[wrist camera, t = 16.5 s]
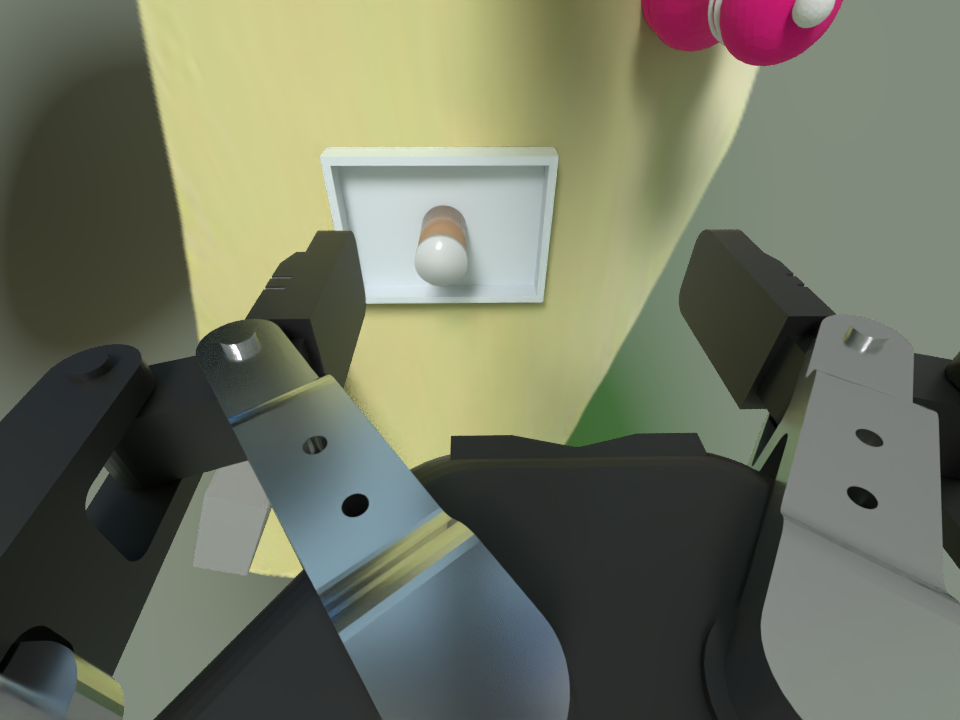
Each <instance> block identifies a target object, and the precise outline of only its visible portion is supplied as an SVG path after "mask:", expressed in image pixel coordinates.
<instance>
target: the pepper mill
mask: <svg viewBox="0 0 960 720" xmlns="http://www.w3.org/2000/svg"><path fill="white" fill-rule="evenodd" d="M842 2H843V0H642V8H643V14H644V17H645V20H646V22H647V24H648V25H649V26H650V28H651V29H652V30H653V31H654V32H656V33H657V35H658V36H659V38H660V39H661V40H662V41H663V42H664V43H665V44H667V45H668V46H670V47H672V48H674V49H677V50H683V51H698V50H702V49H705V48H708V47H711V46H713V45H715V44H717V43H719V42H720V43H721V44H723V45H724V46H726V48H727V49H728V51H729V52H730V53H731V54H732V55H733V56H734V57H735V58H736V59H738V60H740V61H742V62H744V63H746V64H750V65H756V66H767V65H775V64H779V63H782V62H785V61H787V60H790V59H792V58H794V57H796V56H798V55H799V54H801V53H803V52H804V51H805V50H806V49H808V48H809V47H810V46H811V45H813V44H814V43H815V42H816V41H817V40H818V39H819V38H820V37H821V36H822V35H823V34H824V33H825V32H826V31H827V29H828V28H829V26H830V25H831V23H832V22H833V20H834V19H835V17H836V15H837V13H838V11H839V9H840V7H841V4H842Z"/></svg>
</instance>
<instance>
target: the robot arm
mask: <svg viewBox="0 0 960 720" xmlns="http://www.w3.org/2000/svg"><path fill="white" fill-rule="evenodd" d="M265 288H266V290H263V291H262V293H261V295H260V296H259V298H258V299H257V301H256V303H255V304H254V306H253V307H252V309H251V310H250V312H249V314H248V315H247V317H246V318H245V320H240V321H235V322H232V323H228V324H226V325H223V326H221V327H219V328H217V329H215V330H213V331H211V332H210V333H208V334H207V335H206V336H205V337H203V339H202V340H201V341H200V342H199V343H198V345H197V347H196V351H195V355H196V356H191V357H187V358H182V359H178V360H173V361H168V362H163V363H158V364H153V365H149V366H148V365H147V363H146V362H145V360H144V358H143V357H142V355H141V353H140V352H139V351H138V349H136V348H134V347H132V346H129V345H122V344H112V345H103V346H98V347H95V348H90V349H87V350H84V351H81V352H79V353H76V354H74V355H72V356H70V357H68V358H66V359H64V360H62V361H61V362H59V363H58V364H56V365H55V366H54V367H52V368H51V369H50V370H49V371H48V372H47V373H46V374H45V375H44V376H43V377H42V378H41V379H40V380H39V381H38V382H37V383H36V384H35V385H34V386H33V387H32V389H31V390H30V391H29V392H28V393H27V394H26V395H25V396H24V397H23V398H22V399H21V400H20V401H19V403H18V404H17V405H15V407H14V408H13V409H12V410H11V411H10V412H9V413H8V414H7V415H6V416H5V417H4V418H3V419H2V420H1V422H0V720H122V719H123V714H124V696H123V692H122V689H121V687H120V685H119V683H118V682H117V681H116V680H115V679H114V678H113V677H112V676H113V674H114V671H115V669H116V667H117V665H118V662H119V660H120V658H121V656H122V653H123V651H124V649H125V647H126V644H127V642H128V640H129V638H130V636H131V633H132V631H133V629H134V627H135V624H136V622H137V620H138V618H139V615H140V613H141V611H142V609H143V606H144V604H145V602H146V600H147V597H148V595H149V593H150V591H151V588H152V586H153V584H154V582H155V580H156V577H157V575H158V573H159V571H160V568H161V566H162V564H163V561H164V559H165V557H166V555H167V553H168V550H169V548H170V546H171V544H172V541H173V539H174V537H175V535H176V532H177V530H178V528H179V526H180V524H181V521H182V519H183V517H184V514H185V512H186V510H187V508H188V506H189V503H190V501H191V499H192V497H193V494H194V492H195V490H196V488H197V485H198V483H199V481H200V479H201V477H202V474H203V473H204V472H208V471H211V470H215V469H219V468H222V467H226V466H230V465H233V464H237V463H241V462H245V461H248V462H249V464H250V465H251V467H252V469H253V471H254V473H255V475H256V477H257V479H258V481H259V483H260V485H261V487H262V489H263V491H264V493H265V495H266V497H267V499H268V501H269V503H270V505H271V507H272V509H273V510H274V512H275V514H276V516H277V518H278V520H279V522H280V524H281V526H282V528H283V530H284V532H285V534H286V536H287V538H288V540H289V542H290V544H291V546H292V548H293V550H294V552H295V554H296V556H297V558H298V560H299V562H300V564H301V565H302V567H303V570H302V571H301V572H300V573H299V574H298V575H297V576H296V577H295V578H294V579H293V580H292V582H291V583H289V585H287V586H286V587H285V588H284V589H283V590H282V591H281V592H280V594H278V595H277V596H276V597H275V598H274V599H273V601H271V602H270V603H269V604H268V605H267V606H266V608H265V609H263V610H262V611H261V612H260V613H259V614H258V615H257V616H256V617H255V618H254V620H252V621H251V622H250V623H249V625H247V626H246V628H245V629H243V630H242V631H241V632H240V634H239V635H237V636H236V638H235V639H234V640H233V641H231V642H230V644H229V645H227V646H226V647H225V648H224V650H223V651H221V653H220V654H219V655H218V656H217V657H216V658H215V659H214V660H213V661H212V662H211V663H210V664H209V665H208V666H207V667H206V668H205V669H204V670H203V671H202V672H201V673H200V674H199V675H198V676H197V677H196V678H195V679H194V680H193V681H192V682H191V683H190V684H189V685H188V686H187V687H186V688H185V689H184V690H183V691H182V692H181V693H180V694H179V695H178V696H177V697H176V698H175V699H174V700H173V701H172V702H171V703H170V704H169V705H168V706H167V707H166V708H165V709H164V710H163V711H162V712H161V713H160V714H159V715H158V716H157V717H156V718H155V719H154V720H960V603H959V602H958V601H957V600H956V599H955V598H953V597H952V596H951V595H949V593H948V592H947V591H946V588H945V585H944V577H943V576H944V574H943V548H944V549H945V550H946V552H947V553H948V554H949V556H950V557H951V558H952V559H953V561H954V562H955V564H956V565H957V566H958V568H959V569H960V352H959V353H958V354H957V355H956V356H955V357H954V359H953V360H950V359H944V358H939V357H933V356H927V355H922V354H916V353H914V349H913V346H912V344H911V343H910V342H909V341H908V339H907V338H906V337H904V336H903V335H902V334H900V333H899V332H898V331H896V330H894V329H893V328H891V327H889V326H887V325H885V324H882V323H880V322H877V321H875V320H872V319H869V318H865V317H861V316H855V315H847V314H846V315H844V314H839V315H836V314H835V313H834V312H833V311H832V310H831V309H830V308H829V307H828V306H827V305H826V304H825V303H824V302H823V301H822V300H821V299H820V298H818V297H817V296H816V295H815V294H814V293H813V292H812V291H811V290H810V289H809V288H808V287H804V283H803V282H802V281H801V280H799V279H798V278H797V277H795V276H793V273H792V272H791V271H790V270H789V269H788V268H787V267H786V266H784V264H783V263H781V262H780V261H779V260H777V259H775V258H773V257H771V256H769V255H767V254H765V253H764V252H763V251H762V250H761V249H760V248H758V247H757V246H756V245H755V244H754V243H753V242H752V241H751V240H750V239H749V238H748V237H747V236H746V235H745V234H744V233H743V232H742V231H741V230H704V231H702V232H701V233H700V235H699V236H698V238H697V240H696V243H695V246H694V249H693V252H692V255H691V258H690V261H689V265H688V268H687V271H686V274H685V277H684V280H683V283H682V286H681V290H680V295H679V306H680V311H681V313H682V315H683V317H684V319H685V320H686V322H687V323H688V325H689V327H690V329H691V330H692V332H693V333H694V335H695V337H696V338H697V340H698V341H699V343H700V345H701V346H702V348H703V350H704V351H705V353H706V355H707V356H708V358H709V360H710V361H711V363H712V364H713V366H714V368H715V369H716V371H717V373H718V374H719V376H720V377H721V379H722V381H723V382H724V384H725V386H726V387H727V389H728V390H729V392H730V394H731V395H732V397H733V399H734V400H735V402H736V403H737V405H738V407H739V408H740V409H767V410H768V411H769V413H768V415H767V417H766V418H765V420H764V422H763V424H762V425H761V429H760V431H759V434H758V437H757V440H756V442H755V445H754V448H753V451H752V454H751V456H750V459H749V462H748V465H744V464H743V463H740V462H737V461H735V460H732V459H729V458H726V457H722V456H719V455H715V454H712V453H707V452H706V451H705V449H704V447H703V445H702V443H701V440H700V438H699V436H698V434H697V433H656V434H655V433H654V434H651V433H650V434H633V435H629V436H625V437H621V438H617V439H612V440H608V441H604V442H600V443H595V444H591V445H587V446H582V447H572V446H566V445H561V444H555V443H550V442H545V441H540V440H534V439H529V438H524V437H519V436H513V435H492V436H451V454H450V455H446V456H442V457H439V458H436V459H433V460H430V461H427V462H425V463H423V464H421V465H418V466H416V467H414V468H412V469H411V470H409V469H408V467H407V466H406V465H405V464H404V463H403V461H402V460H401V459H400V458H399V456H398V455H397V454H396V453H395V452H394V450H393V449H392V448H391V447H390V445H389V444H388V443H387V442H386V441H385V439H384V438H383V437H382V436H381V435H380V433H379V432H378V431H377V430H376V428H375V427H374V426H373V425H372V424H371V422H370V421H369V420H368V419H367V417H366V416H365V415H364V414H363V413H362V411H361V410H360V409H359V408H358V406H357V405H356V404H355V403H354V402H353V400H352V399H351V398H350V397H349V395H348V394H347V393H346V392H345V391H344V389H343V388H344V384H345V381H346V378H347V374H348V371H349V367H350V364H351V361H352V357H353V354H354V350H355V347H356V343H357V340H358V337H359V333H360V330H361V326H362V323H363V320H364V316H365V309H366V297H365V288H364V283H363V277H362V272H361V266H360V260H359V255H358V249H357V244H356V239H355V236H354V233H353V232H352V231H317V233H316V235H315V236H314V238H313V240H312V242H311V243H310V245H309V247H308V249H307V251H306V252H296V253H294V254H293V255H291V256H290V257H289V258H287V259H286V260H284V261H283V262H281V263H280V264H279V266H278V267H277V269H276V271H275V272H274V274H273V275H272V279H270V280H269V282H268V283H267V285H266V287H265ZM103 466H104V467H105V468H106V469H107V471H108V472H109V475H108V476H107V478H106V479H105V481H104V483H103V484H102V486H101V487H100V489H99V491H98V492H97V494H96V495H95V497H94V498H93V500H92V502H91V503H90V505H89V506H88V508H87V510H85V502H86V497H87V493H88V491H89V488H90V487H91V485H92V483H93V481H94V480H95V479H96V477H97V476H98V474H99V473H100V471H101V469H102V468H103Z"/></svg>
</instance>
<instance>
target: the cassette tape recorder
mask: <svg viewBox="0 0 960 720" xmlns="http://www.w3.org/2000/svg"><path fill="white" fill-rule="evenodd" d="M271 508H272V507H271V505H270V503H269V501H268V499H267V497H266V495H265V493H264V491H263V489H262V487H261V485H260V483H259V481H258V479H257V477H256V475H255V473H254V471H253V469H252V467H251V465H250V464H249V462H248V461H245V462H241V463H237V464H233V465H230V466H226V467H222V468H219V469H217V471H216V473H215V475H214V477H213V479H212V481H211V483H210V485H209V487H208V489H207V491H206V493H205V495H204V500H203V506H202V513H201V519H200V525H199V532H198V537H197V543H196V551H195V556H194V562H193V567H199V568H205V569H210V570H216V571H222V572H228V573H234V574H239V575H245V576H247V573H248V572H249V569H250V566H251V564H252V561H253V558H254V555H255V553H256V550H257V547H258V544H259V541H260V539H261V536H262V533H263V530H264V528H265V525H266V522H267V519H268V517H269V514H270V511H271Z"/></svg>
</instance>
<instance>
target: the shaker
mask: <svg viewBox="0 0 960 720" xmlns="http://www.w3.org/2000/svg"><path fill="white" fill-rule="evenodd" d="M414 264H415V269H416V271H417V273H418V275H419V276H420V277H421V278H422V279H423V280H424V281H426V282H427V283H429V284H431V285H434V286H441V287H443V286H450V285H453V284H455V283H457V282H458V281H459V280H461V279H462V277H463V276H464V275H465V273H466V270H467V265H468V258H467V226H466V221H465V219H464V217H463V215H462V214H461V213H460V212H459V211H458V210H457V209H455V208H453V207H450V206H445V205H441V206H436V207H434V208H432V209H430V210H429V211H428V212H427V213H426V214H425V216H424V218H423V220H422V225H421V231H420V237H419V242H418V247H417V249H416V253H415V259H414Z"/></svg>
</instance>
